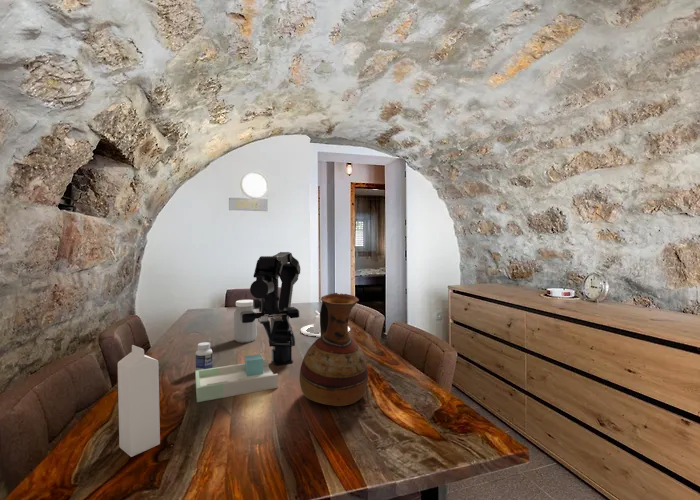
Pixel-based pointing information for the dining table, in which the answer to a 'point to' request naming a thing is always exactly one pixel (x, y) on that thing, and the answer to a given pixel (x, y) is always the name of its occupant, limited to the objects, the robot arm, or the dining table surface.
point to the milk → (138, 402)
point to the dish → (315, 325)
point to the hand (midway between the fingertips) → (270, 340)
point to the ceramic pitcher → (334, 357)
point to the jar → (244, 330)
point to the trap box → (232, 381)
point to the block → (253, 365)
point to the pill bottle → (204, 356)
